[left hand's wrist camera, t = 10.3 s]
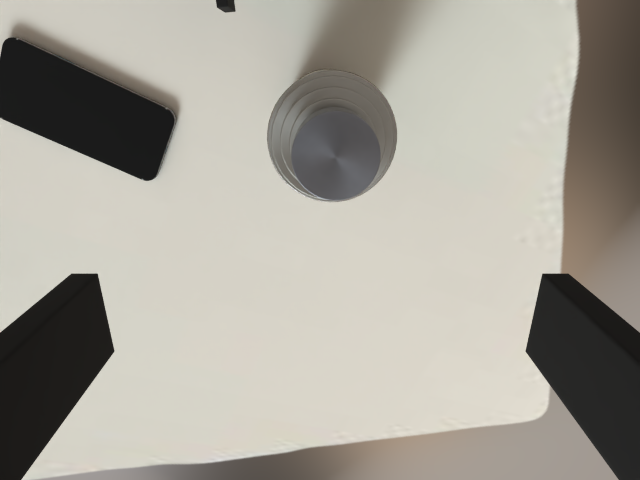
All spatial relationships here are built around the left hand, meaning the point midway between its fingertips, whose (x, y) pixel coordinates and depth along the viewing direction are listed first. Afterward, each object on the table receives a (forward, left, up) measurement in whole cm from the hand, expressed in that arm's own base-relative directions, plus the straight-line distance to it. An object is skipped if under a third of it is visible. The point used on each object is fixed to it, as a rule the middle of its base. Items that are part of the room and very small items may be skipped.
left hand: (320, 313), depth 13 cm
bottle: (-1, +3, -29) cm, 29 cm away
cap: (-1, +3, -8) cm, 9 cm away
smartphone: (-19, -8, -29) cm, 36 cm away
